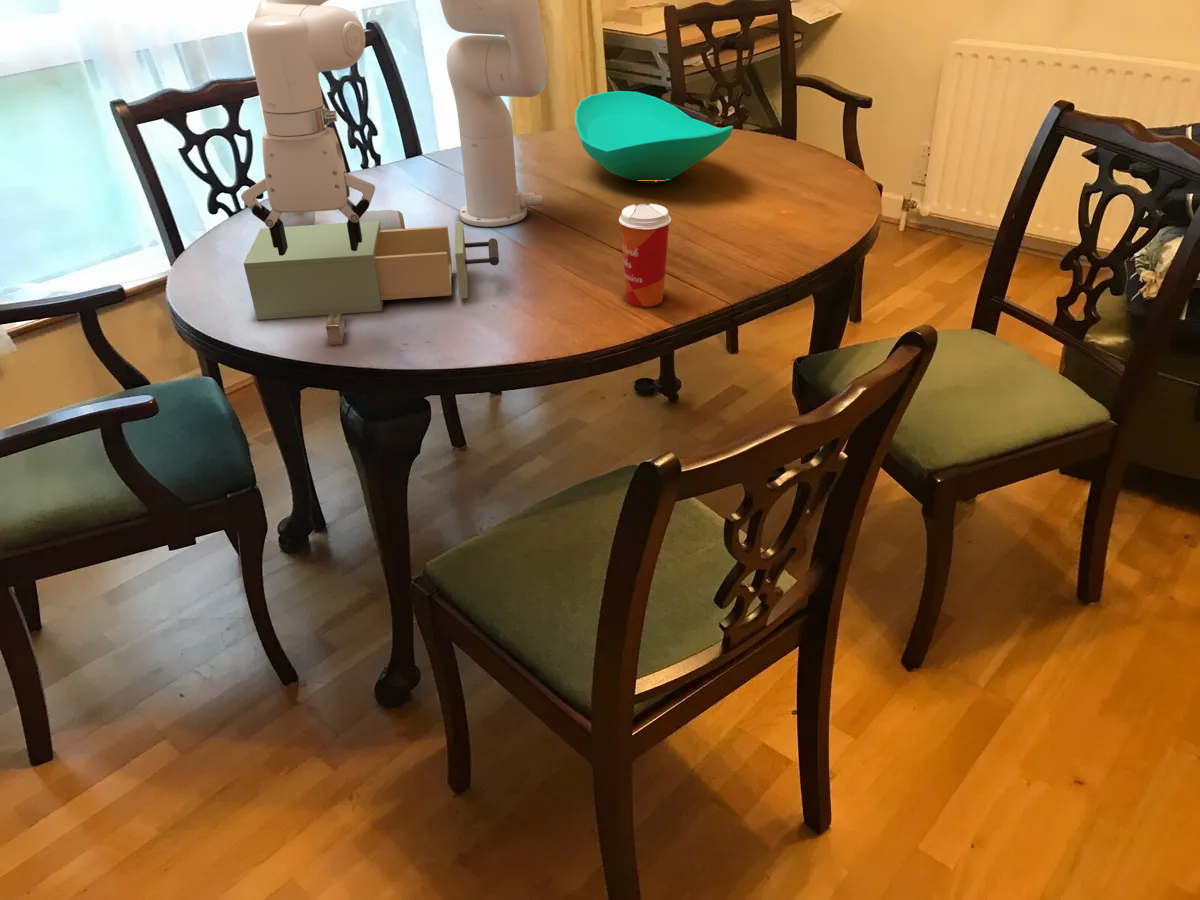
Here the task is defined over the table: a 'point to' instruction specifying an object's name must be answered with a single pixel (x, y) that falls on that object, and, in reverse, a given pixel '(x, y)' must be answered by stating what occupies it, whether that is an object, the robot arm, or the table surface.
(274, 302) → the cabinet
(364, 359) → the table surface
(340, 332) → the wooden block
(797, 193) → the table surface
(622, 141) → the table top decor
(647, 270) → the paper cup
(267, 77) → the robot arm
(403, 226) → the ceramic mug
